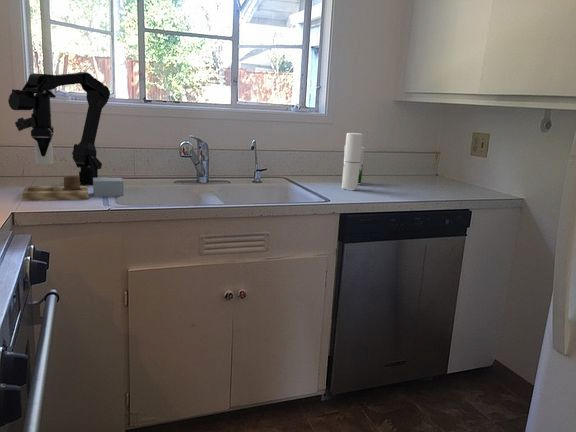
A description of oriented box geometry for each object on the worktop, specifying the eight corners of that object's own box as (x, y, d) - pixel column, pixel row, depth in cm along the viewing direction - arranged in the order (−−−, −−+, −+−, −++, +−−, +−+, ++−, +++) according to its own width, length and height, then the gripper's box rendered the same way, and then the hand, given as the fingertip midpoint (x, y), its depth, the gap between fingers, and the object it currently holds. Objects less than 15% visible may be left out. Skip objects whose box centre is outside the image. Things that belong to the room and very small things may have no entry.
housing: (122, 192, 184) (121, 177, 183) (123, 196, 178) (123, 181, 177) (93, 192, 180) (92, 177, 179) (94, 196, 174) (93, 181, 173)
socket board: (87, 192, 180) (87, 185, 179) (88, 199, 169) (87, 192, 169) (26, 193, 172) (25, 186, 172) (22, 200, 162) (22, 193, 161)
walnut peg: (80, 195, 175) (79, 175, 174) (80, 197, 172) (79, 177, 171) (64, 195, 173) (63, 175, 172) (64, 197, 170) (63, 177, 169)
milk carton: (339, 181, 241) (343, 140, 237) (356, 182, 244) (360, 141, 239) (345, 184, 233) (349, 142, 228) (363, 185, 235) (367, 143, 231)
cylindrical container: (350, 191, 218) (355, 134, 212) (338, 188, 223) (343, 132, 217) (360, 190, 222) (366, 134, 216) (348, 187, 227) (354, 132, 221)
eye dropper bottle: (36, 163, 179) (34, 130, 176) (53, 163, 181) (52, 130, 178) (35, 165, 175) (33, 131, 172) (52, 165, 177) (50, 132, 174)
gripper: (18, 108, 178) (21, 151, 182) (12, 110, 162) (15, 157, 165) (52, 109, 183) (54, 151, 186) (50, 112, 166) (52, 158, 170)
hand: (44, 154), depth 177 cm, fingers closed on eye dropper bottle, 8 cm apart
